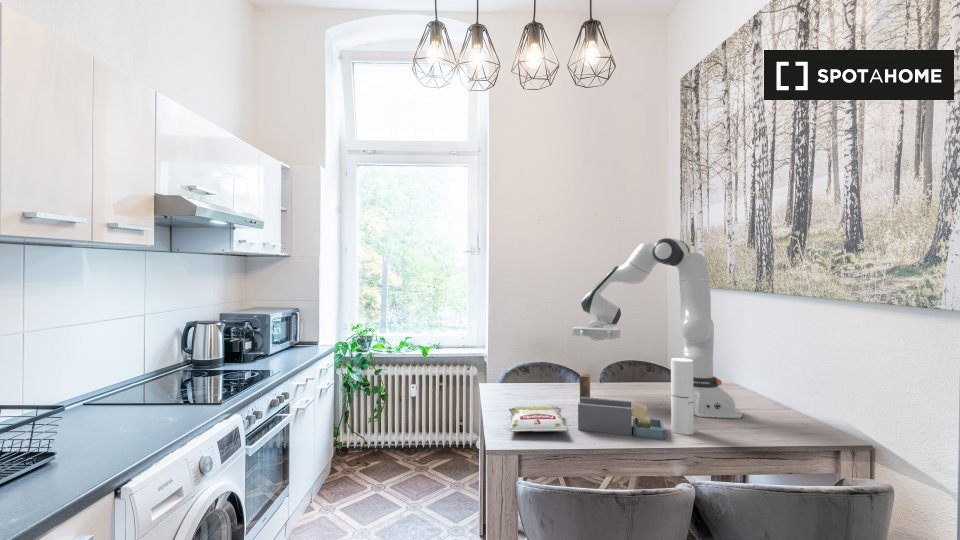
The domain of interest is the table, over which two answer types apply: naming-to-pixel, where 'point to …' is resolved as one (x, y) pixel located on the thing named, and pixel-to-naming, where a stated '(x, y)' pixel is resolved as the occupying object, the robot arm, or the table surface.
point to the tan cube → (639, 410)
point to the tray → (654, 432)
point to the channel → (605, 415)
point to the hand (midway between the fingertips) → (594, 334)
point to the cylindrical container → (682, 396)
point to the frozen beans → (537, 419)
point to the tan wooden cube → (644, 422)
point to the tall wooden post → (585, 385)
